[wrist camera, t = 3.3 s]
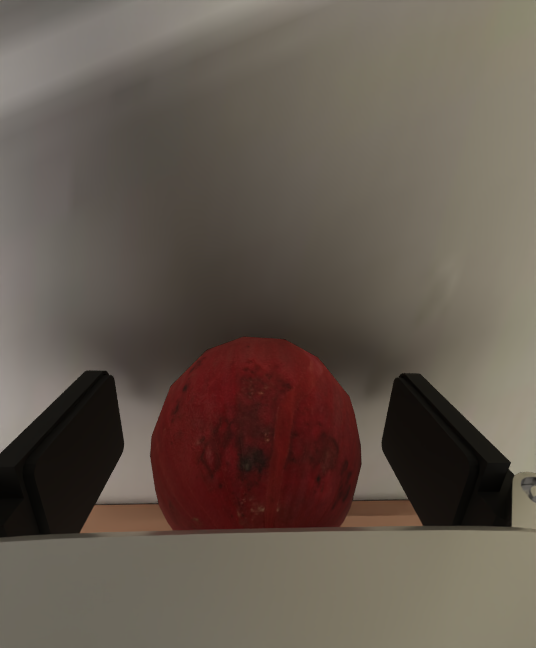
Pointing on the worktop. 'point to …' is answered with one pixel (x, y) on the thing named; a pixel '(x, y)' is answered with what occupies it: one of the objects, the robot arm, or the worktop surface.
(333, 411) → the red round fruit
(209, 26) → the worktop surface
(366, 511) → the dish
